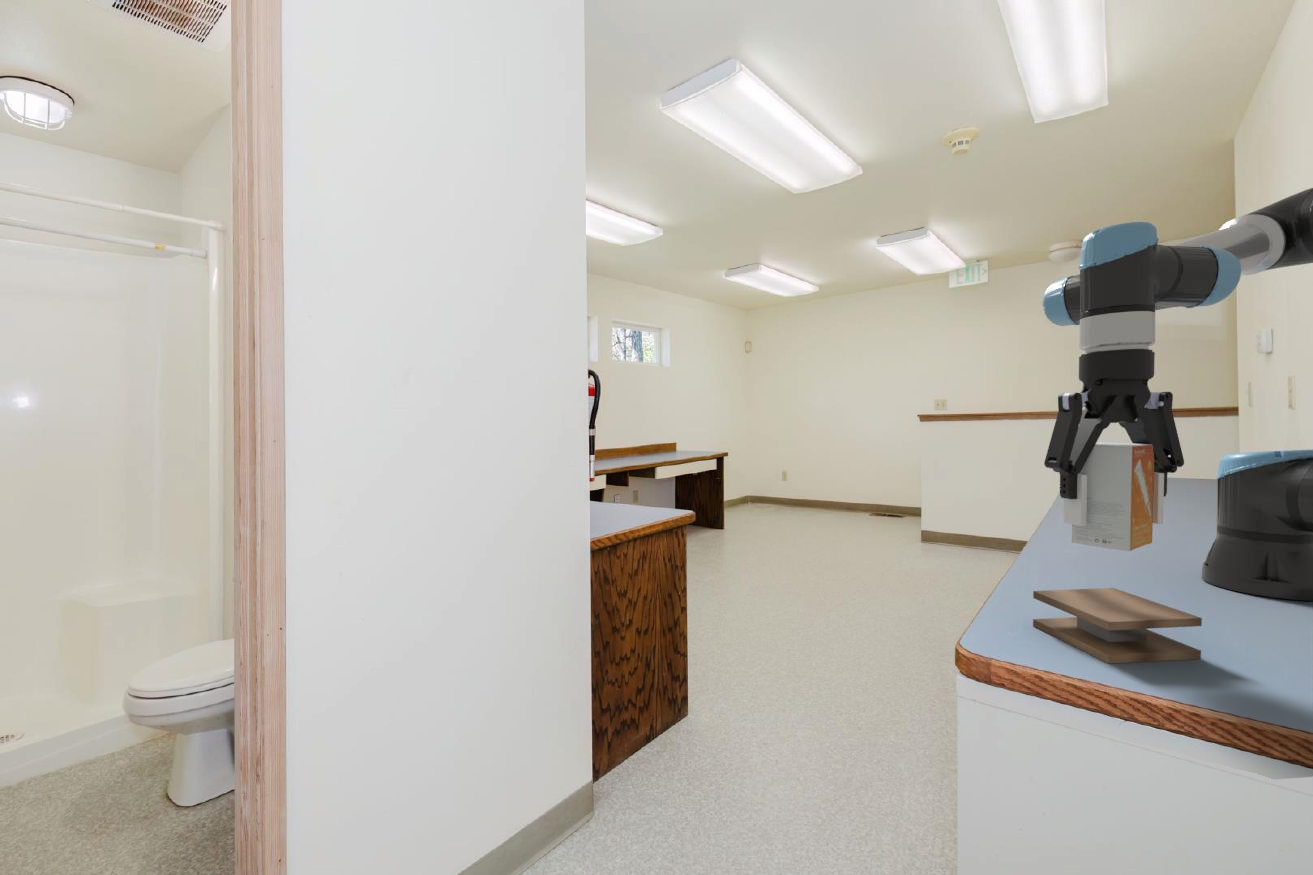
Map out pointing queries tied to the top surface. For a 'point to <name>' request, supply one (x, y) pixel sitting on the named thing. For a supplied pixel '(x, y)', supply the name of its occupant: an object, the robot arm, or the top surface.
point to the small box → (1118, 497)
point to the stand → (1116, 625)
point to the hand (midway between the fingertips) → (1112, 522)
